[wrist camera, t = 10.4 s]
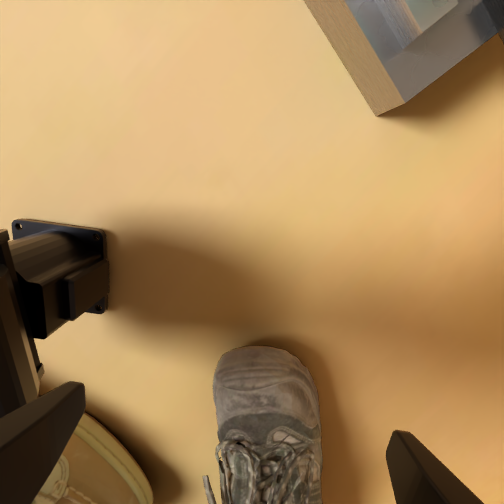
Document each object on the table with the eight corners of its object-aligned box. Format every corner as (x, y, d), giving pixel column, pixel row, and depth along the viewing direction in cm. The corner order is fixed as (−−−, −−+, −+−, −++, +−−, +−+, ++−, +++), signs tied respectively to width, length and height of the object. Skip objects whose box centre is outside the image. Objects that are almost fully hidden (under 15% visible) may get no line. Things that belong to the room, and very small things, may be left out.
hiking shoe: (340, 335, 20) (243, 536, 11) (352, 513, 28) (302, 715, 19) (231, 310, 25) (103, 433, 16) (267, 467, 33) (196, 608, 24)
